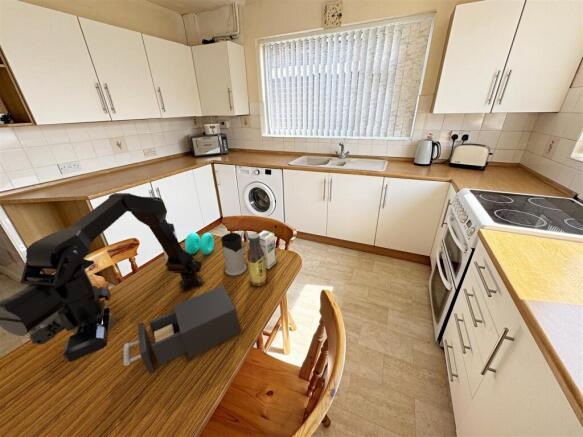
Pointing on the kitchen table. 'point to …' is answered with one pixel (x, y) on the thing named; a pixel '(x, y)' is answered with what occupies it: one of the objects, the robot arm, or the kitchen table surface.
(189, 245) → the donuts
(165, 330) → the block
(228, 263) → the grey black mug
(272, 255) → the syrup box
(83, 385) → the kitchen table surface
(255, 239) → the sauce bottle
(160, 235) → the robot arm
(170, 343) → the open drawer
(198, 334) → the dark grey box
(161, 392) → the kitchen table surface
